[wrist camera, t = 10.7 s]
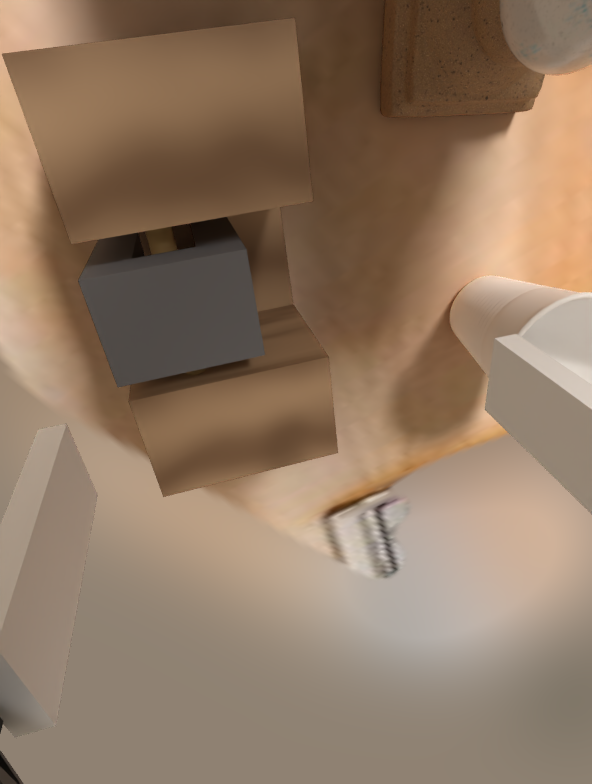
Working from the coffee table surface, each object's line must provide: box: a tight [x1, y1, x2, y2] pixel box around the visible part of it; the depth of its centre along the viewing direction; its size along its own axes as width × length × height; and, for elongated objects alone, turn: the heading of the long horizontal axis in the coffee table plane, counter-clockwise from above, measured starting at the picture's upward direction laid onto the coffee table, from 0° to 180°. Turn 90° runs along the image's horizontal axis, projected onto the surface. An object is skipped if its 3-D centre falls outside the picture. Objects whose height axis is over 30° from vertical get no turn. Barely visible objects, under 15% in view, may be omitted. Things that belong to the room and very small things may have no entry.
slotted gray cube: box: [78, 217, 265, 387], centre depth 29 cm, size 6×8×9 cm
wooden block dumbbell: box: [2, 18, 338, 497], centre depth 31 cm, size 24×12×11 cm, turn 7°
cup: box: [450, 275, 592, 384], centre depth 39 cm, size 10×10×11 cm
